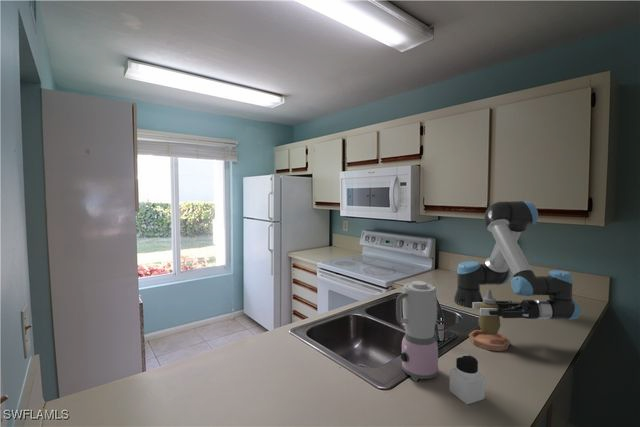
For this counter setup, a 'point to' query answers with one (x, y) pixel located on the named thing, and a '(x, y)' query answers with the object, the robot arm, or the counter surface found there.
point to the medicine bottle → (467, 380)
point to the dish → (489, 341)
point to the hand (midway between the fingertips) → (476, 308)
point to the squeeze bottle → (489, 322)
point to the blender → (418, 329)
